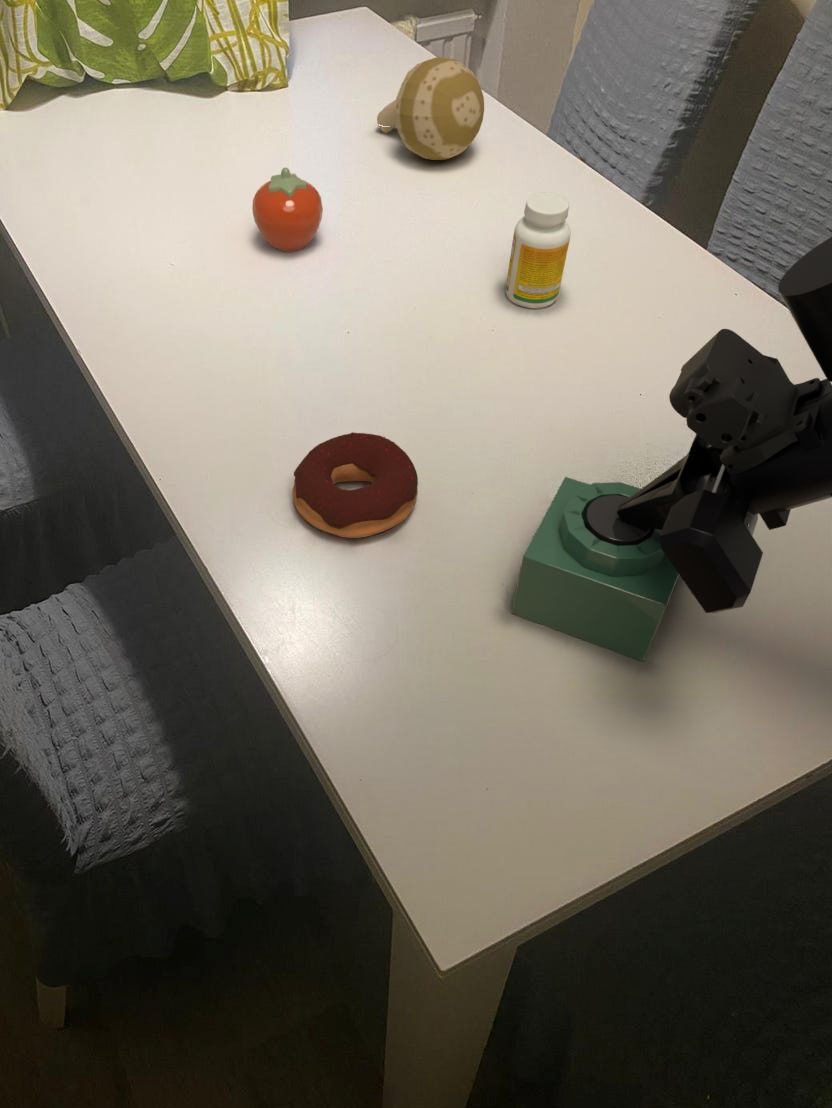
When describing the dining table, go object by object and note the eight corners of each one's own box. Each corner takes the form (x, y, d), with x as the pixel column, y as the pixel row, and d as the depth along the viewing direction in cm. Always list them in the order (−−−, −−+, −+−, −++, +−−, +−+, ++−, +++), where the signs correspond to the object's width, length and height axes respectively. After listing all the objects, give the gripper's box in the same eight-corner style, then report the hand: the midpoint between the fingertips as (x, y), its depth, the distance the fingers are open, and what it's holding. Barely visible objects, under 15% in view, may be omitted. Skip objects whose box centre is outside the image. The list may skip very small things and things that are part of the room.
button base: (675, 577, 71) (707, 500, 65) (643, 662, 66) (674, 588, 60) (551, 534, 74) (569, 457, 67) (510, 613, 69) (526, 537, 62)
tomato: (336, 248, 100) (335, 173, 93) (276, 268, 97) (271, 192, 91) (301, 218, 104) (298, 144, 97) (242, 237, 101) (235, 162, 95)
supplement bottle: (495, 288, 95) (507, 195, 87) (539, 275, 96) (555, 183, 89) (523, 315, 92) (539, 221, 84) (568, 302, 94) (588, 208, 86)
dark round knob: (653, 525, 65) (659, 507, 64) (635, 566, 63) (642, 549, 62) (592, 505, 67) (597, 487, 65) (573, 545, 64) (578, 527, 63)
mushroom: (409, 85, 117) (491, 37, 105) (429, 175, 121) (511, 138, 109) (344, 94, 112) (423, 44, 100) (367, 187, 116) (446, 150, 103)
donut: (290, 545, 73) (288, 509, 70) (295, 461, 79) (292, 424, 76) (419, 545, 73) (422, 508, 70) (414, 461, 79) (416, 423, 76)
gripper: (826, 233, 54) (600, 345, 65) (759, 420, 43) (504, 513, 55) (905, 385, 58) (678, 465, 69) (860, 588, 47) (603, 642, 59)
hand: (621, 514), depth 63 cm, fingers closed, pressing on dark round knob
